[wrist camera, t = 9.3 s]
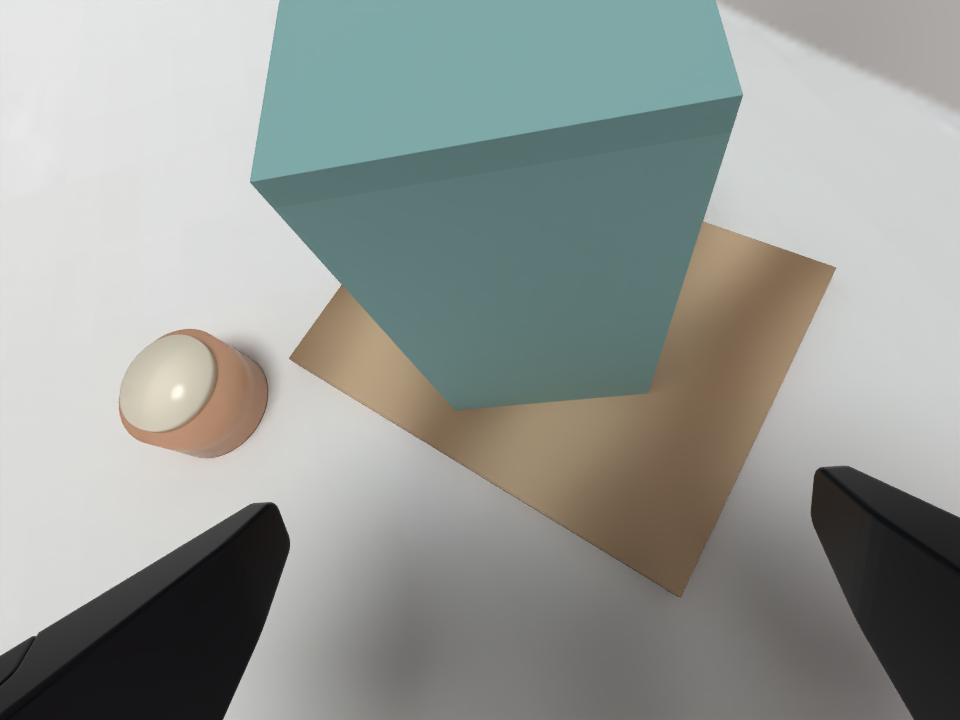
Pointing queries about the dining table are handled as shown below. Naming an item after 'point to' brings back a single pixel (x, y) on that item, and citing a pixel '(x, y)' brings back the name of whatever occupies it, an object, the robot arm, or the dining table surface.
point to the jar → (192, 395)
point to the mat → (615, 408)
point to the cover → (502, 177)
